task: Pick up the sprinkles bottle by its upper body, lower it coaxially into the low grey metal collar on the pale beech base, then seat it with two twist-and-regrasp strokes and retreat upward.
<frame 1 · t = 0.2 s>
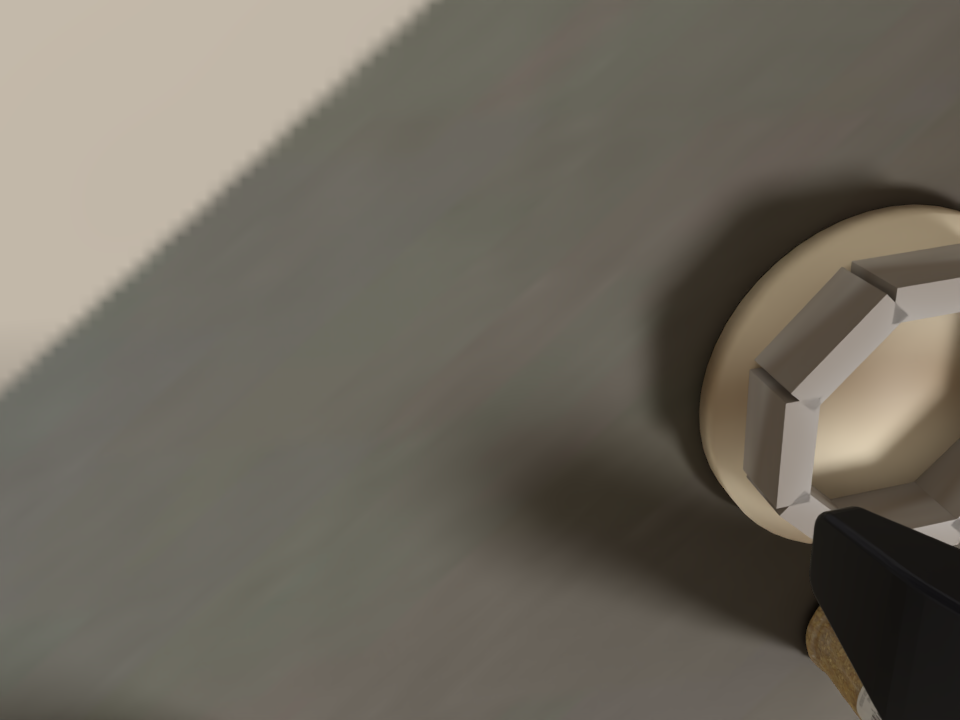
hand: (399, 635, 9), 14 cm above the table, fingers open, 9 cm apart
collar socket: (867, 378, 27), on the table
sprinkles bottle: (855, 612, 32), on the table
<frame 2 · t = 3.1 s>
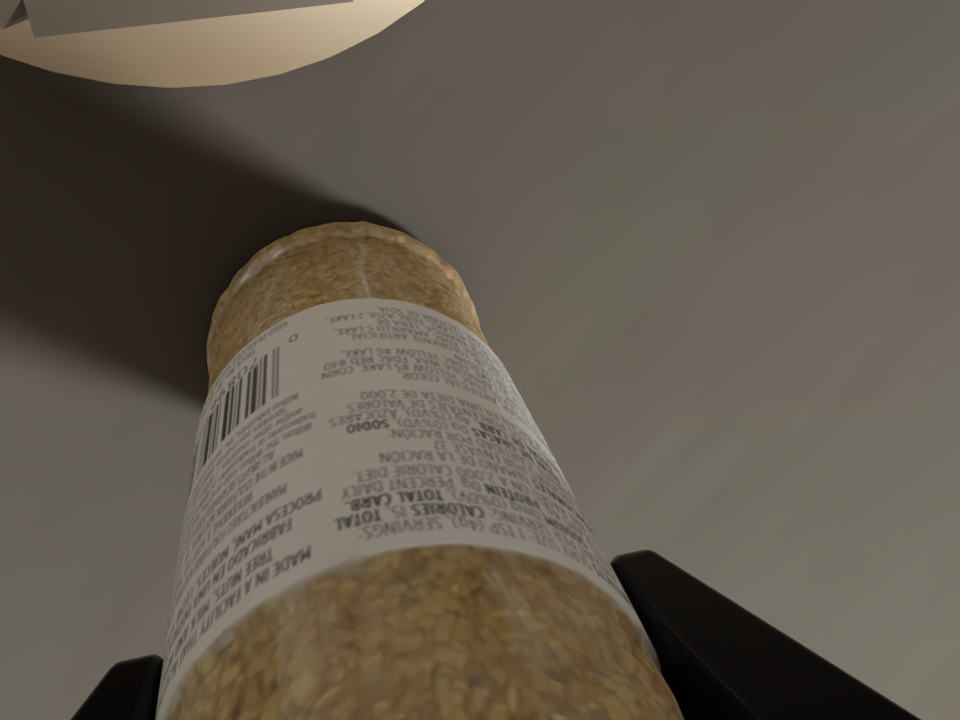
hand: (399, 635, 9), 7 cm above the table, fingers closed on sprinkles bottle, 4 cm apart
sprinkles bottle: (346, 336, 15), on the table, touching gripper
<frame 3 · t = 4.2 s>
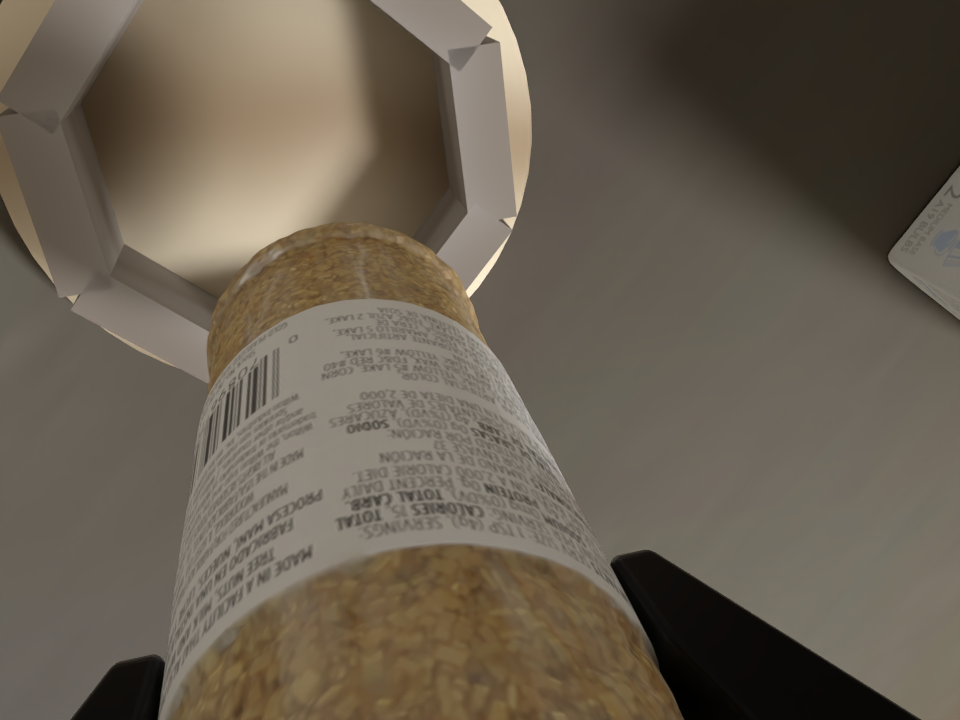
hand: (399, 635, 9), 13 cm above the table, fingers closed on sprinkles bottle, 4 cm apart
collar socket: (276, 138, 19), on the table
sprinkles bottle: (345, 336, 15), point 6 cm above the table, touching gripper
when the fingers open (9 cm above the table, at t = 5.8 s): sprinkles bottle stays where it is, resting on collar socket.
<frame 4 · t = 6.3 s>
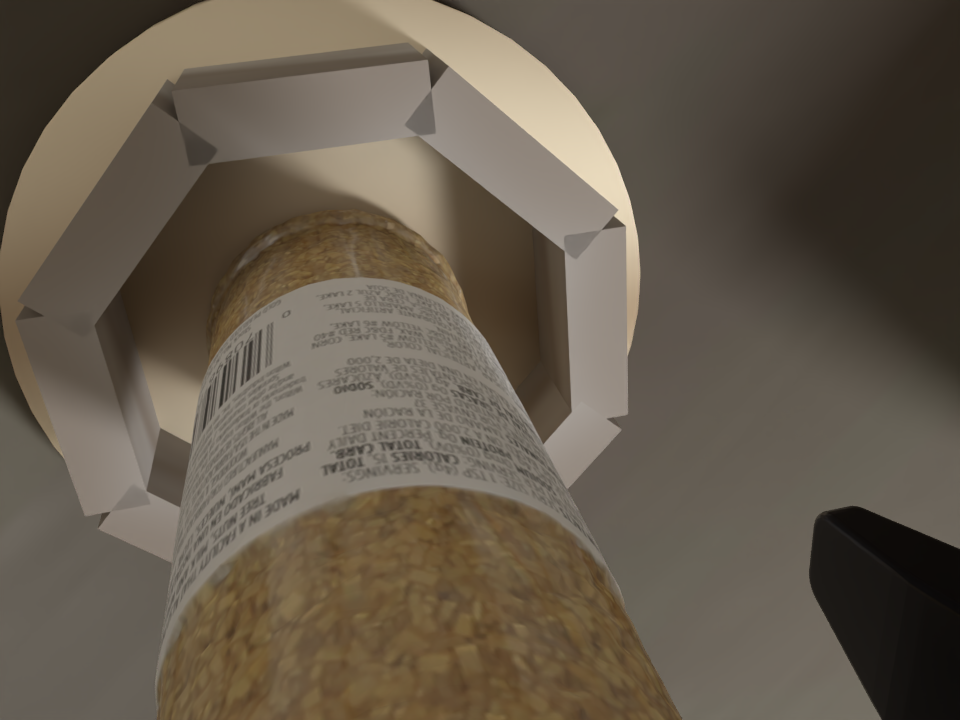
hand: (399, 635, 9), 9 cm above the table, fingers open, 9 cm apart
collar socket: (340, 300, 16), on the table
sprinkles bottle: (340, 320, 16), point 1 cm above the table, touching collar socket
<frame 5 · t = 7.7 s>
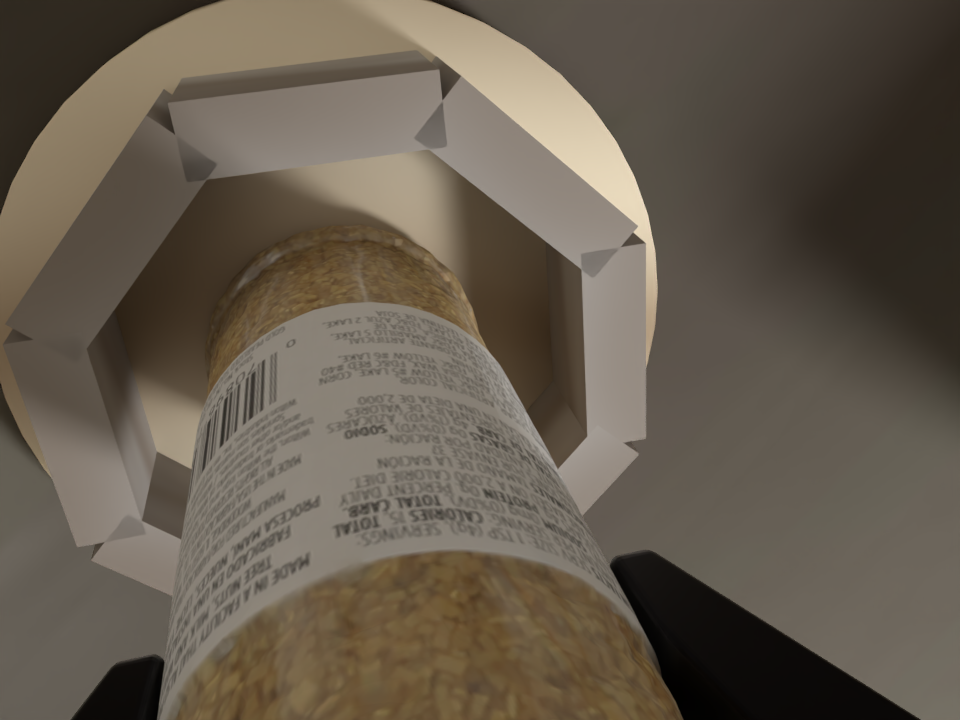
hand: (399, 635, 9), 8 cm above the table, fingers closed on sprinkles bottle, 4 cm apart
collar socket: (344, 317, 16), on the table
sprinkles bottle: (344, 339, 15), point 1 cm above the table, touching collar socket, gripper
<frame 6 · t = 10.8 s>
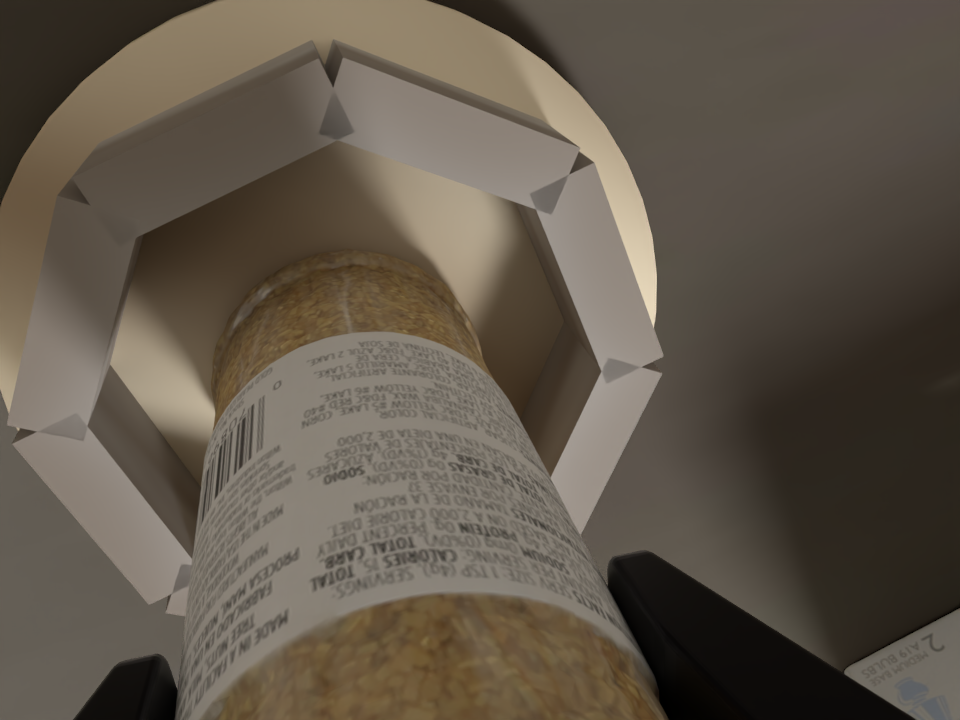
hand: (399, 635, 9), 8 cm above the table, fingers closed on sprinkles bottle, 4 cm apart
collar socket: (343, 318, 16), on the table
sprinkles bottle: (348, 361, 15), point 1 cm above the table, touching gripper
when the fingers open (8 cm above the table, at t = 11.3 s): sprinkles bottle stays where it is, resting on collar socket.
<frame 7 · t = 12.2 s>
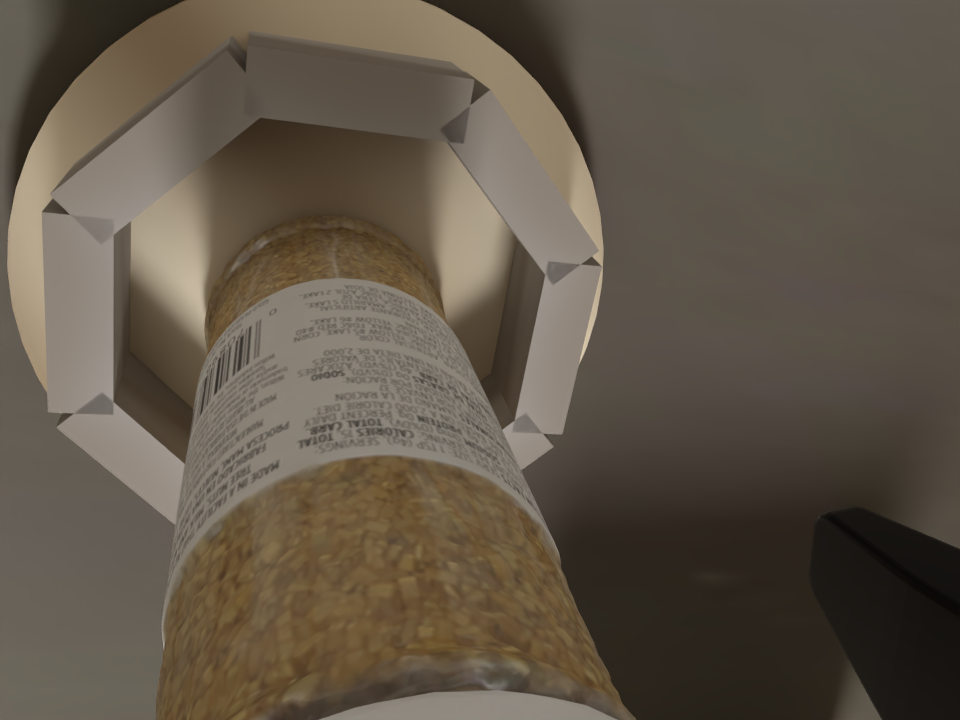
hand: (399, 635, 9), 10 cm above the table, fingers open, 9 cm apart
collar socket: (324, 275, 18), on the table
sprinkles bottle: (327, 316, 17), point 1 cm above the table, touching collar socket
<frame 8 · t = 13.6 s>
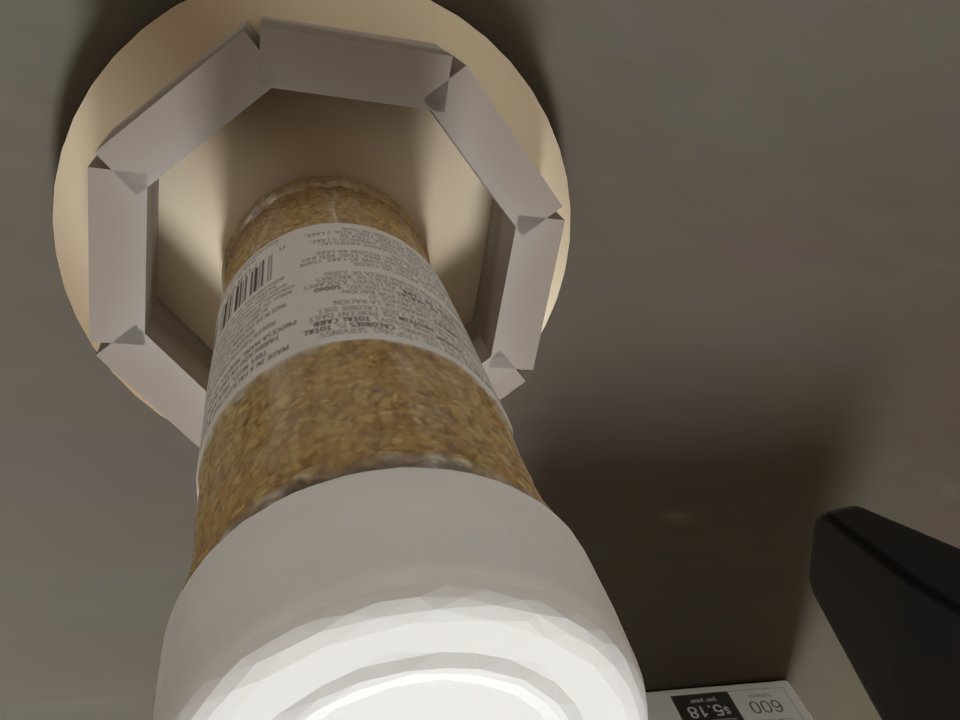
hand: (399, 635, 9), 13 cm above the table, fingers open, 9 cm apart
collar socket: (325, 233, 20), on the table
sprinkles bottle: (327, 267, 20), point 1 cm above the table, touching collar socket
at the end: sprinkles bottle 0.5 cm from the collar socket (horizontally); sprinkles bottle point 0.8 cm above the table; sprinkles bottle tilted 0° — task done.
